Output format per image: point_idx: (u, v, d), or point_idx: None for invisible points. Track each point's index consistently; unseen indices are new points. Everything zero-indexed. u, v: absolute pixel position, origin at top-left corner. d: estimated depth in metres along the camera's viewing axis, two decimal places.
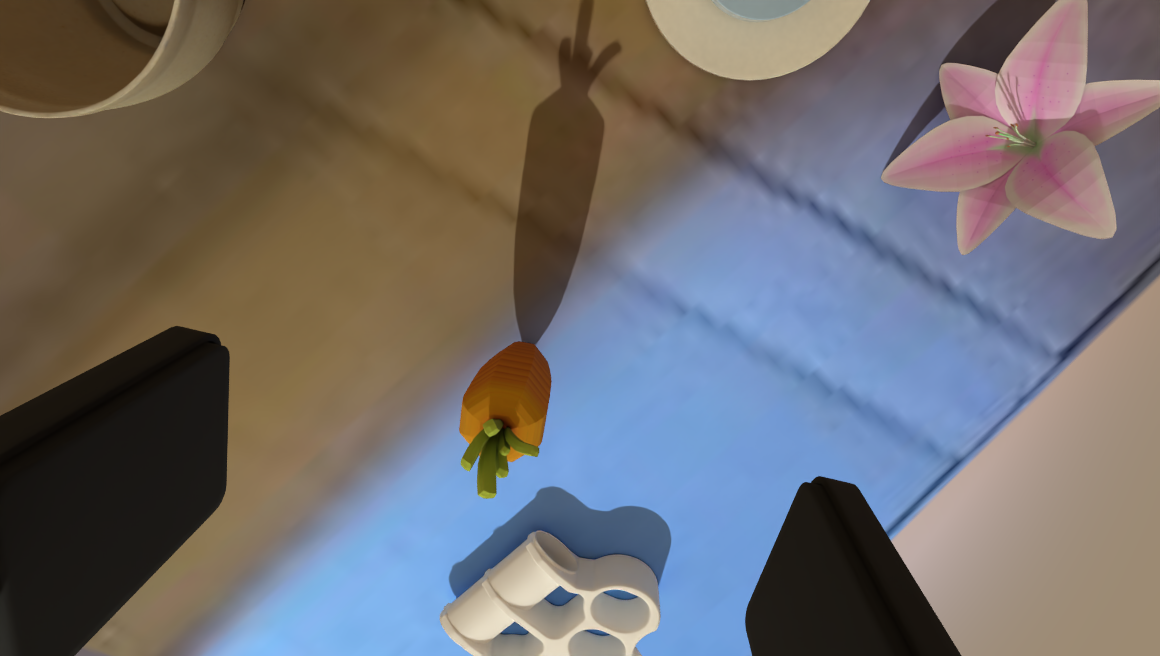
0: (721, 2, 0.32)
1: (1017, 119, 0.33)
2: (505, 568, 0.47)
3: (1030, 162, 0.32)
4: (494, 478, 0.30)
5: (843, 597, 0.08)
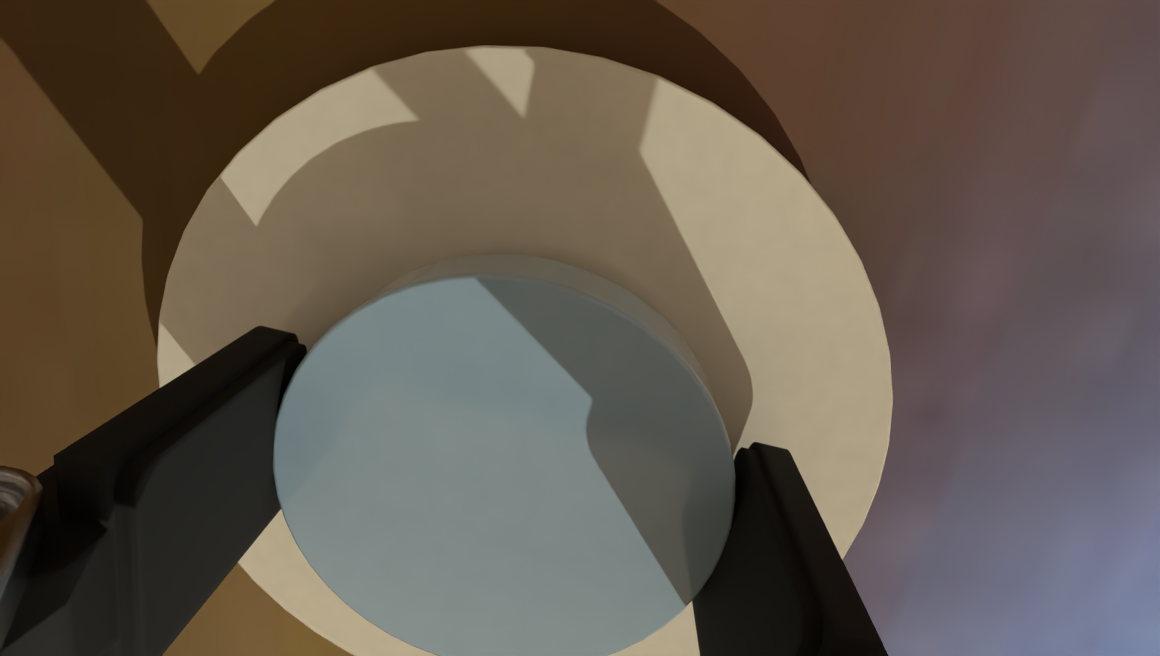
0: None
1: None
2: None
3: None
4: None
5: (763, 547, 0.08)
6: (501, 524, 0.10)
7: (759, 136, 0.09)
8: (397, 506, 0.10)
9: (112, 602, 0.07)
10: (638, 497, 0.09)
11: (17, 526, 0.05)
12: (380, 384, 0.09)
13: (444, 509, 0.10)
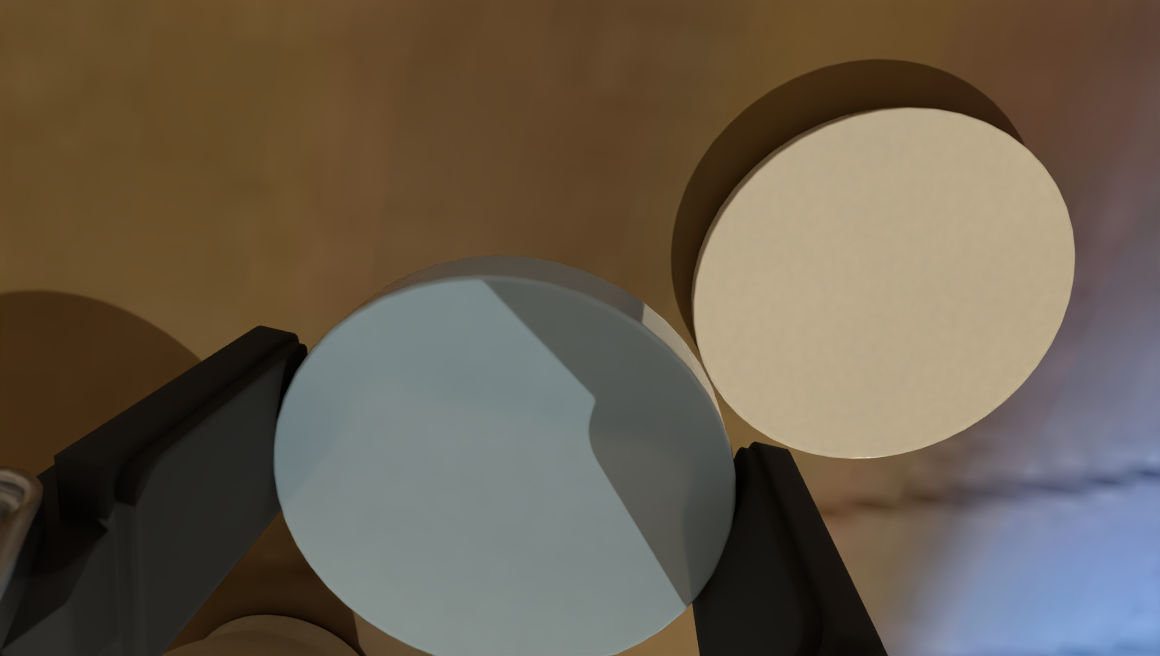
0: None
1: None
2: None
3: None
4: None
5: (762, 546, 0.08)
6: (501, 526, 0.10)
7: (1027, 149, 0.20)
8: (397, 508, 0.10)
9: (111, 603, 0.07)
10: (638, 499, 0.09)
11: (17, 526, 0.05)
12: (380, 386, 0.09)
13: (444, 511, 0.10)
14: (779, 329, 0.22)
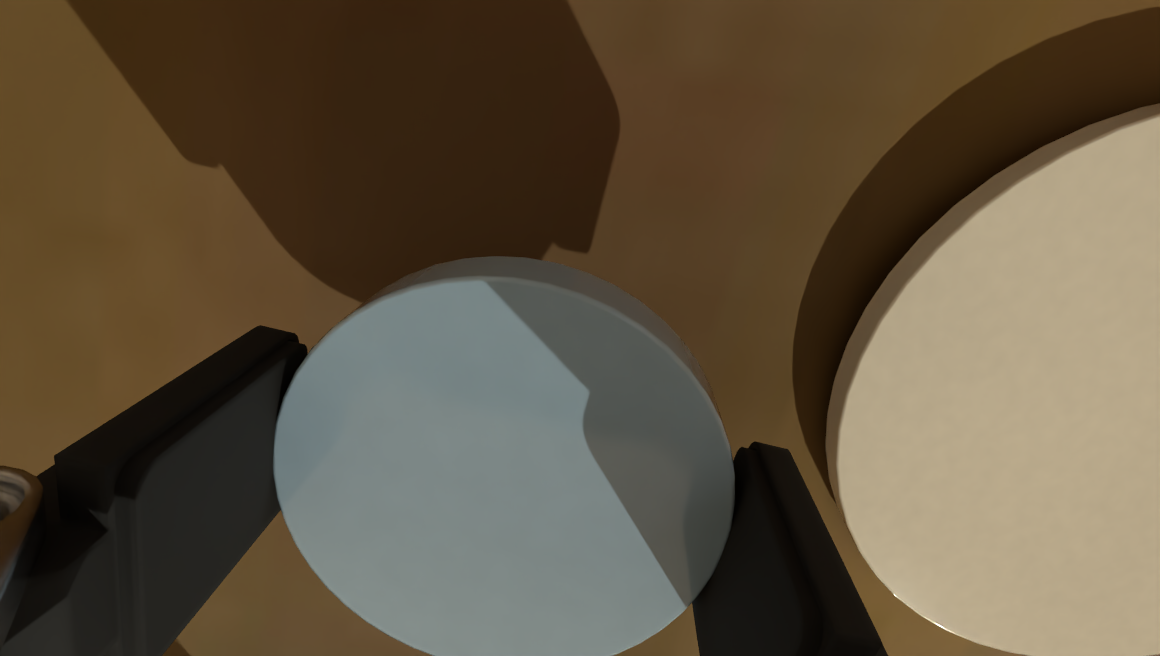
0: None
1: None
2: None
3: None
4: None
5: (762, 547, 0.08)
6: (501, 526, 0.10)
7: None
8: (397, 508, 0.10)
9: (113, 602, 0.07)
10: (638, 499, 0.09)
11: (18, 526, 0.05)
12: (380, 387, 0.09)
13: (444, 511, 0.10)
14: (982, 472, 0.13)
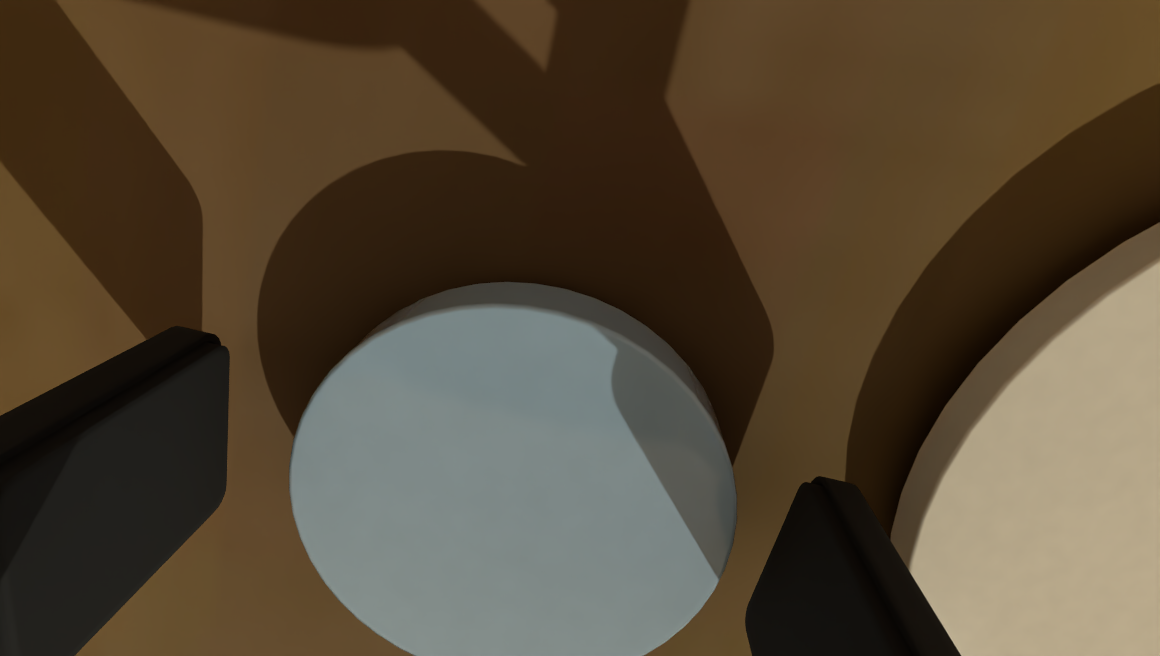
0: None
1: None
2: None
3: None
4: None
5: (843, 597, 0.08)
6: (510, 542, 0.10)
7: None
8: (409, 525, 0.10)
9: None
10: (643, 517, 0.10)
11: None
12: (395, 408, 0.09)
13: (455, 528, 0.10)
14: (1094, 615, 0.10)
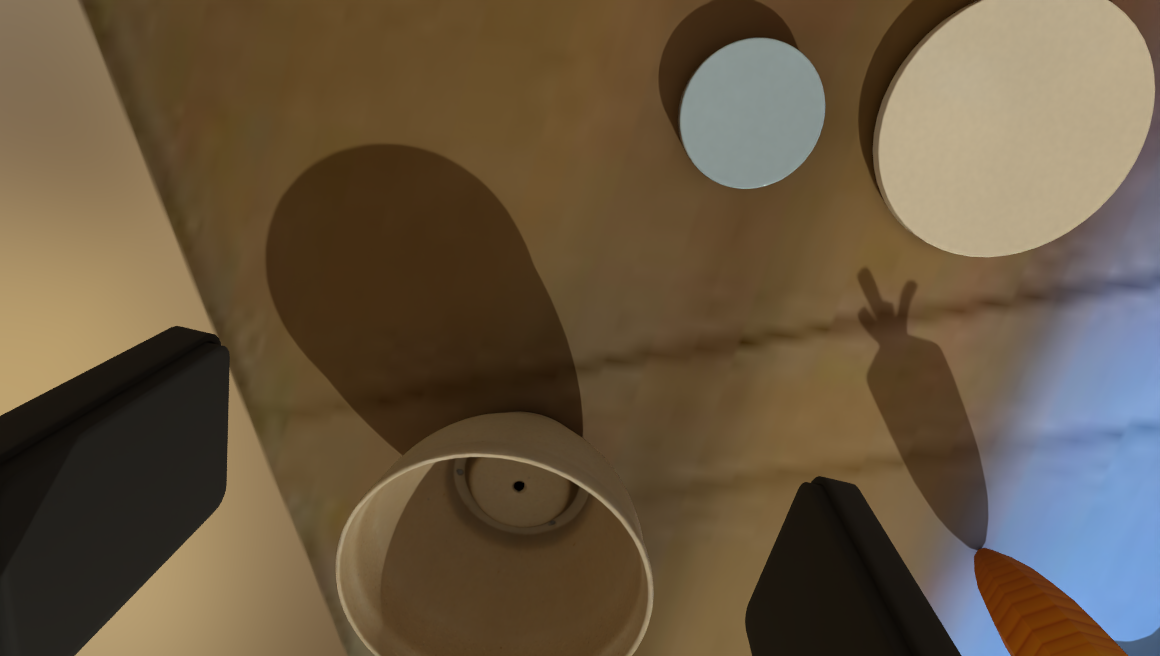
0: (747, 187, 0.32)
1: None
2: None
3: None
4: None
5: (843, 597, 0.08)
6: (751, 126, 0.31)
7: (1124, 13, 0.29)
8: (718, 120, 0.31)
9: None
10: (795, 113, 0.31)
11: None
12: (722, 74, 0.30)
13: (733, 120, 0.31)
14: (940, 154, 0.31)
